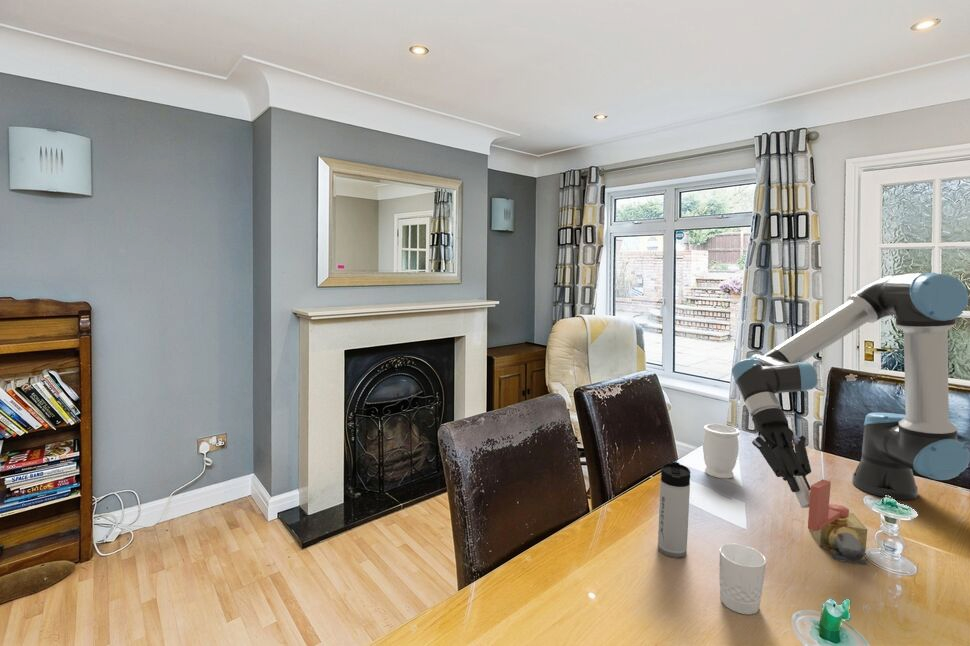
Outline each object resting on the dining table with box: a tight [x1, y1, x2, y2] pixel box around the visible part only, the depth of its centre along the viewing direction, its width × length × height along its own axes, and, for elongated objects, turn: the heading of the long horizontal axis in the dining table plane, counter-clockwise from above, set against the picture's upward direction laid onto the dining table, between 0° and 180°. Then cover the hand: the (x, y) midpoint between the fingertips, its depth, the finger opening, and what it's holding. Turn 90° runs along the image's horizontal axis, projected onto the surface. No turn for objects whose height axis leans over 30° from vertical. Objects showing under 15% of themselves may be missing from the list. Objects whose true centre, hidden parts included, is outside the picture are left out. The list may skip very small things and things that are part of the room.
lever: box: [807, 479, 850, 532], centre depth 112 cm, size 4×16×10 cm, turn 124°
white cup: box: [719, 543, 767, 616], centre depth 94 cm, size 8×8×10 cm
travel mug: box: [657, 461, 691, 559], centre depth 112 cm, size 6×7×20 cm
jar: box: [702, 423, 740, 479], centre depth 156 cm, size 11×10×15 cm
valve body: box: [808, 512, 868, 565], centre depth 116 cm, size 19×9×7 cm, turn 162°
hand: (808, 505), depth 112 cm, fingers closed
